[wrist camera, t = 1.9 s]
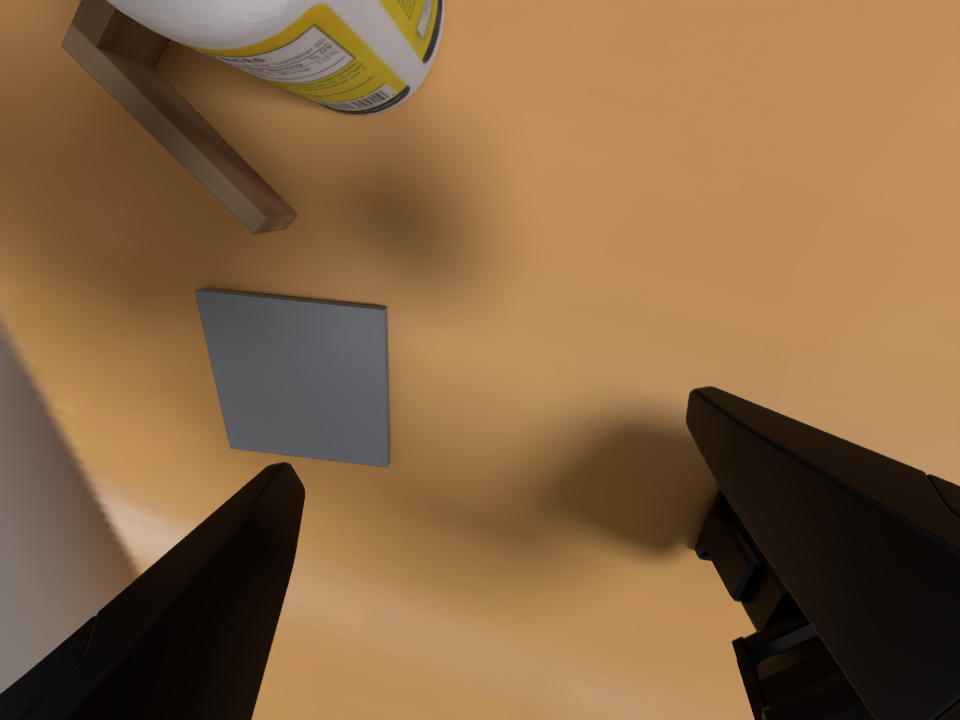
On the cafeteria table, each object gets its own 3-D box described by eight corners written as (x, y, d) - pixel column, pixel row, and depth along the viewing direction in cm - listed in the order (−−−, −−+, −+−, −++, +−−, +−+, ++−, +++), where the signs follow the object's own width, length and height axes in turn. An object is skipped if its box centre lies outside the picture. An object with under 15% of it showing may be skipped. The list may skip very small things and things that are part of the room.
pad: (387, 306, 20) (383, 310, 20) (390, 461, 24) (387, 467, 24) (203, 288, 21) (195, 290, 20) (236, 442, 25) (230, 448, 24)
